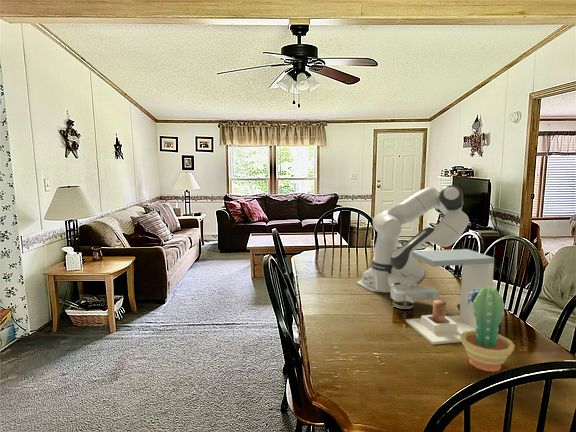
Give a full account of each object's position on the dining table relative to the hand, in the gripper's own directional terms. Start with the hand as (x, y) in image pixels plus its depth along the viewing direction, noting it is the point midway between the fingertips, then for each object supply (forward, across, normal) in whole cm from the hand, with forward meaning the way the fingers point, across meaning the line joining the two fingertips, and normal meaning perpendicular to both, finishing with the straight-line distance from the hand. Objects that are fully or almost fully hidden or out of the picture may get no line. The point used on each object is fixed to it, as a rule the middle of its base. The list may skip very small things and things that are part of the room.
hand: (424, 300), depth 154 cm
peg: (+11, 0, -7) cm, 13 cm away
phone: (-2, -23, -8) cm, 24 cm away
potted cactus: (+37, -1, -8) cm, 38 cm away
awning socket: (+12, -3, -8) cm, 15 cm away
